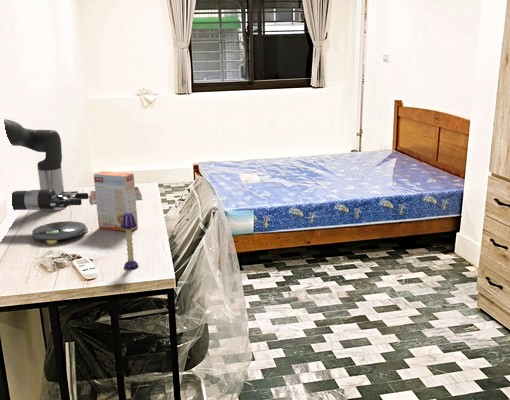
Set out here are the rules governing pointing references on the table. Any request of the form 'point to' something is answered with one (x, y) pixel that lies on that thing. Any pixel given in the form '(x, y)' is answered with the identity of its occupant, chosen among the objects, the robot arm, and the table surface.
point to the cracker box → (114, 198)
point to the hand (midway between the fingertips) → (84, 198)
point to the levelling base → (59, 231)
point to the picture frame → (137, 195)
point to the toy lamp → (129, 238)
